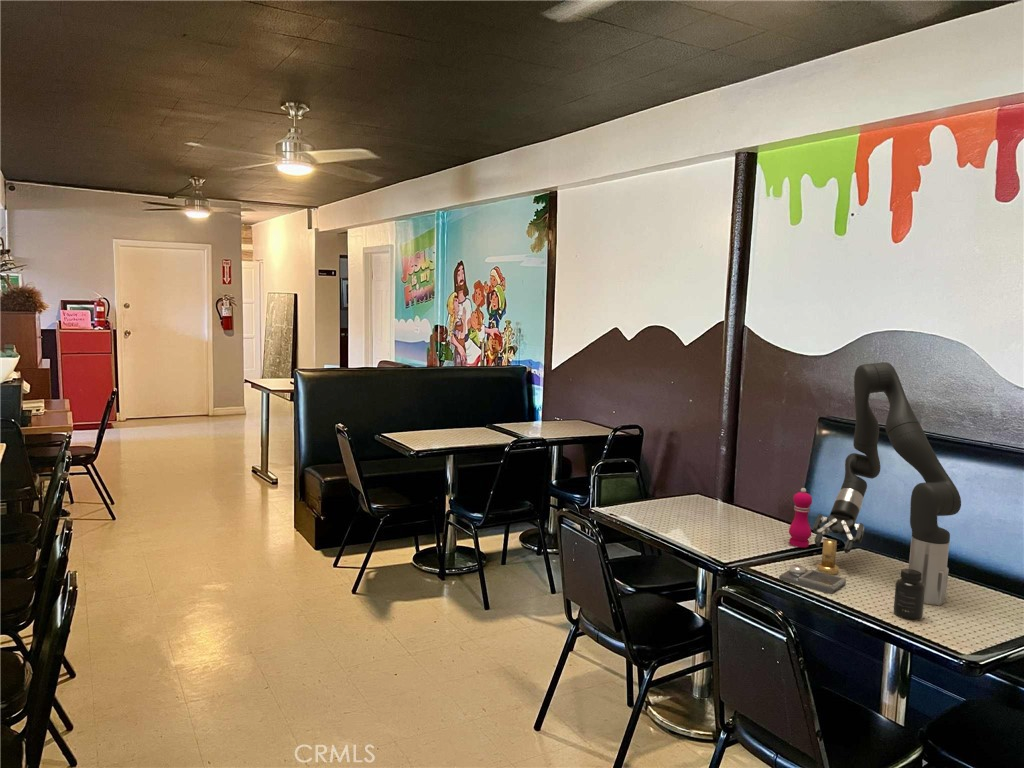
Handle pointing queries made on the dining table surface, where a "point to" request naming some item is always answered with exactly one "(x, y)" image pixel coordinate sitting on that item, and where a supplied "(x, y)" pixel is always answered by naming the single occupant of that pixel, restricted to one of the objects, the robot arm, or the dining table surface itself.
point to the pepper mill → (801, 520)
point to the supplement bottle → (909, 595)
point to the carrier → (813, 579)
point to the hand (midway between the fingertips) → (831, 548)
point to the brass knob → (828, 557)
